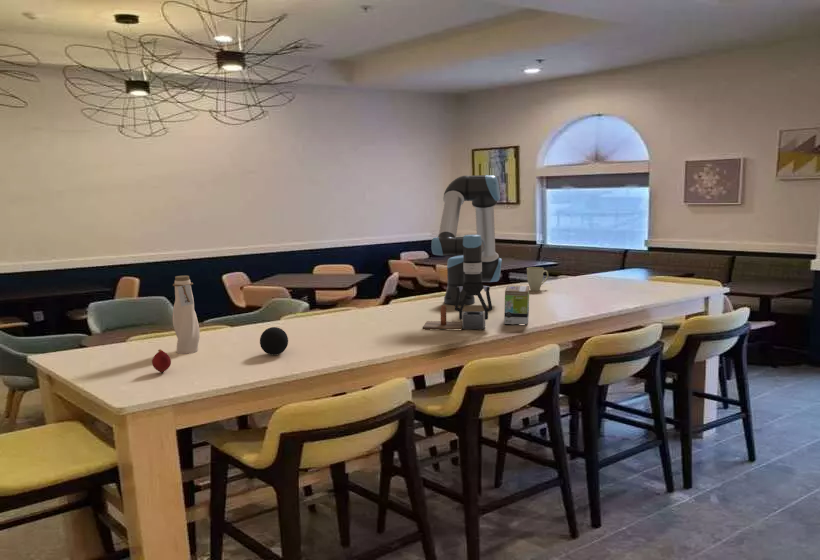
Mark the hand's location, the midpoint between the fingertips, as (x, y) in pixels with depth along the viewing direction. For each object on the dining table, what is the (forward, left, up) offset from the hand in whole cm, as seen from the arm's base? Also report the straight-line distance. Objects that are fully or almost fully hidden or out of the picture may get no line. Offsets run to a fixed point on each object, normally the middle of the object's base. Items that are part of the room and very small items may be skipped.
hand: (473, 327), depth 279 cm
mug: (-95, +26, -1) cm, 99 cm away
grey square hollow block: (0, 0, 0) cm, 0 cm away
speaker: (+49, -68, -1) cm, 84 cm away
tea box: (-14, +17, -1) cm, 22 cm away
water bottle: (+48, -102, -1) cm, 112 cm away
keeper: (-1, -13, 0) cm, 13 cm away
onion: (+75, -97, -1) cm, 122 cm away
